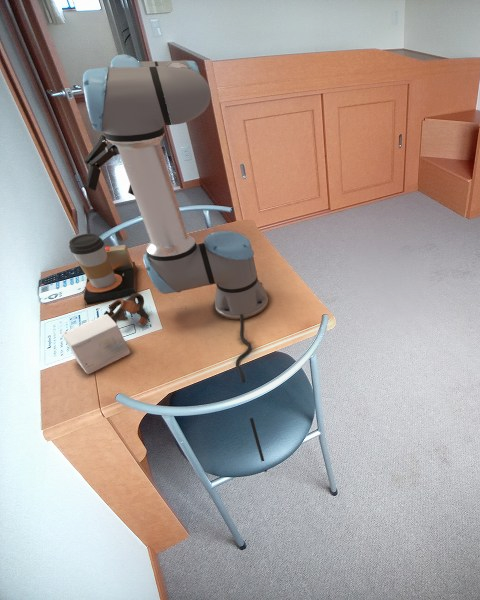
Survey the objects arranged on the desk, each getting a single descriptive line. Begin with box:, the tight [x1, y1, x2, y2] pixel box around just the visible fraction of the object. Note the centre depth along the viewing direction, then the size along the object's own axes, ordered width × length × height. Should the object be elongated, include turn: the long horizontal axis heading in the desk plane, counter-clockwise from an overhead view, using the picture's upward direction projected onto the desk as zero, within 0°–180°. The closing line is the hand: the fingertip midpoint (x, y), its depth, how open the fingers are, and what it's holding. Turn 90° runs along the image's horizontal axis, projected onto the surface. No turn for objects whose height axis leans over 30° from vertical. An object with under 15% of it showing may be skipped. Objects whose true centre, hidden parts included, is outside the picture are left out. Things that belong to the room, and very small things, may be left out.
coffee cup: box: [68, 233, 115, 288], centre depth 126 cm, size 8×8×15 cm
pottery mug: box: [103, 292, 150, 327], centre depth 121 cm, size 12×10×8 cm
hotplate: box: [83, 261, 140, 306], centre depth 134 cm, size 18×15×3 cm
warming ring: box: [85, 274, 122, 293], centre depth 131 cm, size 10×10×1 cm
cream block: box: [105, 244, 134, 272], centre depth 135 cm, size 6×3×8 cm, turn 115°
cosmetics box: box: [61, 314, 131, 375], centre depth 107 cm, size 10×6×10 cm, turn 140°
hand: (111, 191), depth 125 cm, fingers open, 13 cm apart
